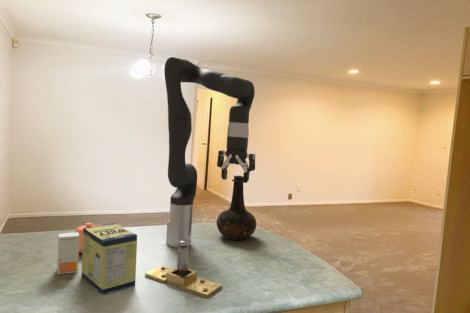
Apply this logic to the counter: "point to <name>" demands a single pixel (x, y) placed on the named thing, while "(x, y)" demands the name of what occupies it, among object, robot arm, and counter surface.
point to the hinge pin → (183, 256)
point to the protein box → (109, 257)
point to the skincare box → (68, 253)
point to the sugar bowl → (80, 231)
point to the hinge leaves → (184, 281)
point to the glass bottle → (236, 216)
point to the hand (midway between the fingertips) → (234, 181)
